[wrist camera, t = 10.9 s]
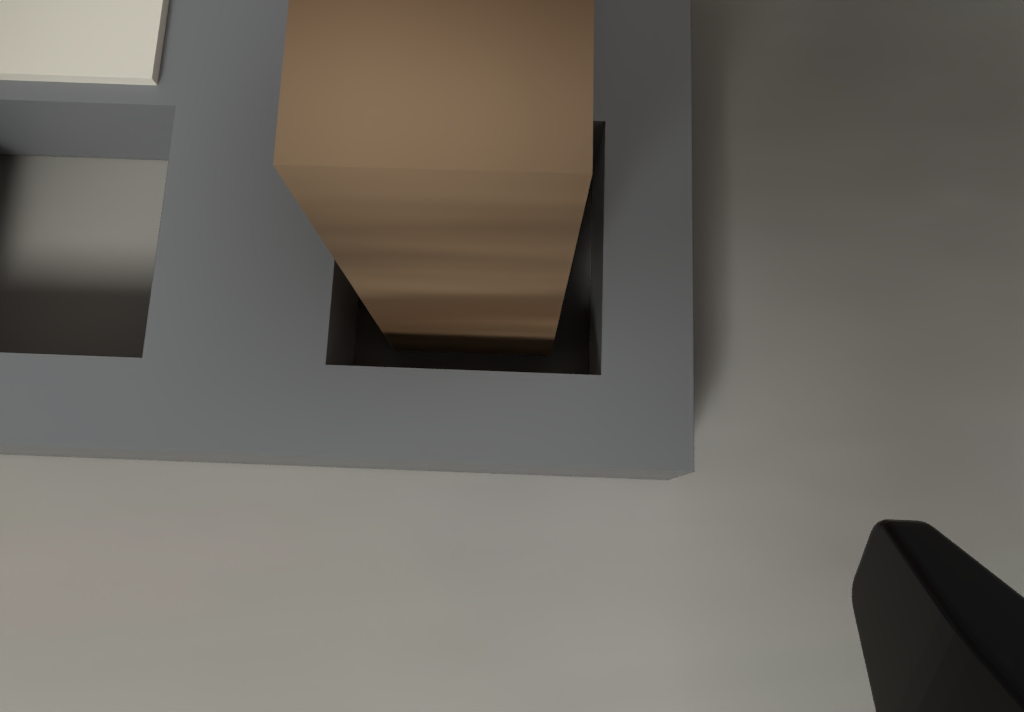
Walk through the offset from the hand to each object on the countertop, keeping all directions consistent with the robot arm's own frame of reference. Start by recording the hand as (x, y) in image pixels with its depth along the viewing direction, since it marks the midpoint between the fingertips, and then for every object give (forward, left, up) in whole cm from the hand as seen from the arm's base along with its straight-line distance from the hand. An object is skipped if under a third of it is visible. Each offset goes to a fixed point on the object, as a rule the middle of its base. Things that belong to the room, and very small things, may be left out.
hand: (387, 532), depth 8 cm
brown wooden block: (+1, +6, -13) cm, 14 cm away
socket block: (-3, +9, -13) cm, 16 cm away
